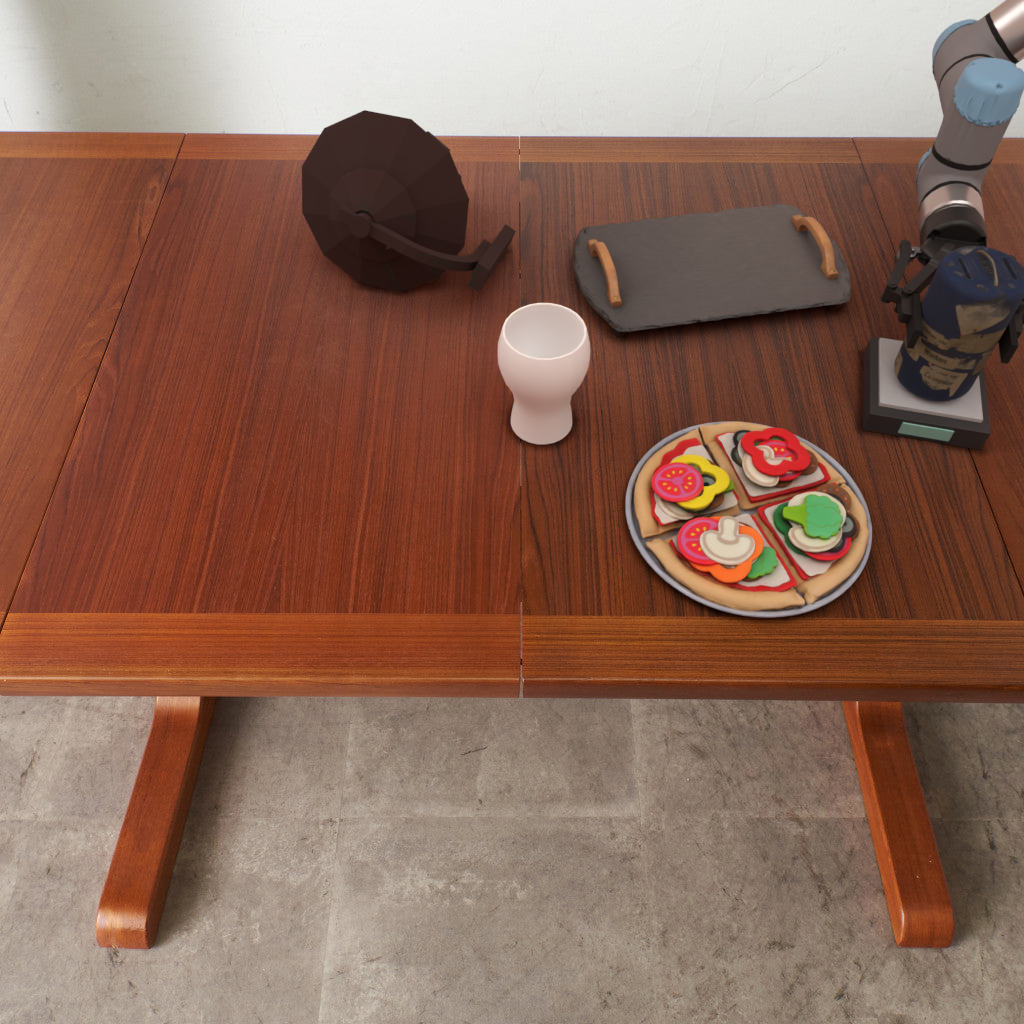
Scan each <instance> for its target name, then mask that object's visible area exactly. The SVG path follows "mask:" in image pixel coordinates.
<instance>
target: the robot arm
mask: <svg viewBox="0 0 1024 1024" xmlns="http://www.w3.org/2000/svg"><path fill="white" fill-rule="evenodd" d="M931 52H932V53H931V56H932V57H931V60H932V62H931V63H932V64H931V65H932V66H931V67H932V75H933V78H934V82H935V83H936V88H937V90H938V98H939V102H940V107H941V111H942V116H943V117H942V121H941V124H940V127H939V129H938V132H937V134H936V138H935V140H934V142H933V145H932V146H931V147H930V148H929V149H927V151H926V152H925V153H924V154H923V155H922V156H921V158H920V161H919V162H918V165H917V172H916V176H915V188H916V193H917V205H918V206H917V207H918V228H919V229H918V231H919V246H913V245H912V243H911V241H909V240H908V239H902V240H901V241H900V243H899V245H898V248H897V249H896V252H895V255H894V256H893V260H894V267H893V269H892V272H891V274H890V276H889V278H888V280H887V282H886V285H885V287H884V289H883V292H882V295H881V297H880V302H882V303H884V304H890V303H894V304H895V306H894V308H893V312H894V313H896V314H897V321H898V323H899V324H905V336H906V342H907V348H911V349H914V347H915V345H916V342H917V340H918V338H919V336H920V334H921V332H922V319H921V301H922V300H921V298H922V297H921V293H923V291H924V290H925V289H926V288H928V287H929V285H930V283H931V281H932V279H933V277H934V275H935V272H936V270H937V268H938V266H939V264H940V262H941V260H942V259H943V258H944V257H945V256H946V255H947V254H948V253H949V252H951V251H953V250H955V249H957V248H961V247H966V246H981V247H988V236H987V229H986V227H987V226H986V221H985V220H986V219H985V211H984V205H983V198H982V186H983V185H982V184H983V182H984V179H985V178H986V175H987V173H988V171H989V169H990V167H991V165H992V162H993V160H994V158H995V155H996V153H997V151H998V149H999V146H1000V145H1001V143H1002V140H1003V138H1004V136H1005V134H1006V132H1007V129H1008V127H1009V126H1010V124H1011V121H1012V119H1013V117H1014V115H1015V114H1016V113H1017V111H1018V108H1019V106H1020V104H1021V99H1022V96H1023V92H1024V70H1023V68H1020V67H1017V64H1019V62H1022V60H1024V0H1004V1H1002V2H1001V3H1000V4H999V5H997V6H996V7H994V8H993V9H992V10H991V11H989V12H987V13H986V14H985V15H984V16H983V17H981V18H979V19H973V18H968V19H964V20H960V21H957V22H954V23H952V24H950V25H949V26H947V27H946V28H945V29H944V30H943V31H942V32H941V33H940V34H939V36H938V37H937V39H936V41H935V42H934V45H933V48H932V51H931ZM1008 255H1009V256H1011V257H1013V258H1014V259H1015V260H1017V259H1018V258H1017V257H1016V256H1015V255H1012V254H1008ZM915 259H917V261H918V262H919V264H921V265H922V266H923V268H922V269H921V270H920V271H918V273H917V274H915V276H914V277H913V278H912V279H911V280H910V281H909V282H908V283H906V285H904V286H903V287H902V286H901V287H900V286H899V284H900V281H901V279H902V277H903V275H904V273H905V271H906V269H907V266H910V264H911V263H914V261H915ZM1017 261H1018V260H1017ZM1023 331H1024V298H1023V300H1022V302H1021V303H1020V305H1019V307H1018V308H1017V310H1016V312H1015V313H1014V315H1013V317H1012V319H1011V320H1010V322H1009V324H1008V326H1007V328H1006V329H1005V331H1004V333H1003V335H1002V337H1001V338H1000V340H999V342H998V349H999V357H1000V363H1001V364H1005V365H1006V364H1007V365H1009V363H1010V361H1011V360H1012V358H1013V356H1014V355H1015V353H1016V352H1017V350H1018V348H1019V345H1020V344H1019V338H1020V337H1021V335H1022V333H1023Z"/></svg>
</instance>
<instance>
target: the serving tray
mask: <svg viewBox="0 0 1024 1024" xmlns="http://www.w3.org/2000/svg"><path fill="white" fill-rule="evenodd" d="M572 252H573V253H572V262H573V266H572V271H573V275H574V276H575V281H576V283H577V285H578V288H579V291H580V293H581V294H582V295H583V297H584V299H585V301H586V302H587V303H588V305H589V306H590V307H591V308H592V309H593V310H594V312H595V313H596V314H598V316H600V317H601V318H602V320H604V321H605V322H606V323H607V324H608V325H609V326H610V327H611V332H612V334H613V336H614V337H616V338H622V337H624V335H626V333H629V332H638V331H645V330H652V329H661V328H668V327H674V326H681V325H692V324H696V323H705V322H713V321H714V322H716V321H720V320H726V319H739V318H741V317H751V316H759V315H768V314H774V313H781V312H788V311H789V312H790V311H795V310H806V309H810V308H811V309H812V308H817V307H818V308H819V307H825V306H827V307H828V308H829V309H831V310H835V309H837V308H838V307H840V306H842V304H846V303H848V302H849V301H850V299H851V297H852V283H851V278H852V277H851V273H850V269H849V266H848V265H847V263H846V261H845V260H846V259H845V257H844V255H843V253H842V250H841V249H840V247H839V245H838V244H837V243H836V241H835V240H834V239H833V238H832V236H831V235H830V234H828V233H827V232H826V231H825V229H824V227H823V226H822V225H821V224H820V222H819V221H818V220H817V219H816V218H815V217H813V216H809V215H807V214H806V213H804V212H802V210H800V208H797V207H796V206H793V205H791V204H788V203H775V204H768V205H757V206H752V207H751V206H749V207H738V208H731V209H730V208H729V209H723V210H719V211H712V212H694V213H693V212H692V213H683V214H679V215H670V216H665V217H654V218H642V219H637V220H632V221H623V222H619V223H606V224H600V225H590V226H587V227H586V226H585V227H582V228H581V230H580V231H579V232H578V233H577V235H576V240H575V245H574V248H573V250H572Z"/></svg>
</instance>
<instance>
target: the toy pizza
mask: <svg viewBox="0 0 1024 1024" xmlns="http://www.w3.org/2000/svg"><path fill="white" fill-rule="evenodd" d="M624 502H625V503H624V508H625V509H624V510H625V520H626V523H627V527H628V531H629V530H630V531H629V533H630V536H631V539H632V540H633V543H634V545H635V547H636V548H637V550H638V552H639V554H640V555H641V556H642V558H643V559H644V561H645V562H646V563H647V564H648V565H649V567H651V569H652V570H653V571H654V572H655V573H656V574H657V575H658V576H659V577H660V578H661V579H662V580H664V581H665V582H666V583H667V584H669V585H670V586H671V587H672V588H674V589H675V590H677V591H678V592H680V593H681V594H683V595H684V596H686V597H688V598H690V599H692V600H693V601H695V602H698V603H700V604H702V605H703V606H707V607H709V608H712V609H714V610H718V611H721V612H725V613H728V614H731V615H737V616H743V617H751V618H764V619H765V618H769V619H770V618H771V619H773V618H785V617H793V616H798V615H801V614H805V613H808V612H812V611H814V610H817V609H819V608H821V607H824V606H825V605H828V604H829V603H832V602H833V601H835V600H836V599H838V598H839V597H841V596H842V595H843V594H844V593H845V592H846V591H848V590H849V588H850V587H852V585H853V584H854V583H855V582H856V581H857V579H858V578H859V576H861V574H862V571H863V570H864V569H865V566H866V564H867V562H868V559H869V557H870V554H871V553H870V552H871V549H872V542H873V540H872V539H873V524H872V520H871V519H872V518H871V514H870V511H869V508H868V504H867V502H866V500H865V497H864V496H863V493H862V491H861V490H860V488H859V487H858V485H857V483H856V482H855V481H854V479H853V478H852V477H851V475H850V474H849V472H847V470H846V469H845V468H844V467H843V466H842V465H841V463H839V462H838V461H837V460H836V459H835V458H833V457H832V456H831V455H830V454H829V453H827V452H826V451H824V449H821V448H820V447H818V446H817V445H815V444H814V443H812V442H810V441H808V440H807V439H805V438H803V437H802V436H799V435H797V434H794V433H793V432H791V431H789V430H788V429H784V428H781V427H774V426H769V425H765V424H761V423H757V422H747V421H731V420H730V421H729V420H728V421H713V422H705V423H701V424H697V425H692V426H689V427H686V428H682V429H681V430H678V431H676V432H674V433H672V434H670V435H668V436H665V438H663V439H661V440H660V441H658V442H657V443H656V444H655V445H654V446H652V447H651V448H650V449H649V450H648V451H647V452H645V454H644V455H643V456H642V457H641V459H640V460H639V461H638V463H637V464H636V466H635V467H634V469H633V471H632V473H631V475H630V477H629V480H628V483H627V488H626V491H625V501H624Z"/></svg>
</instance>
